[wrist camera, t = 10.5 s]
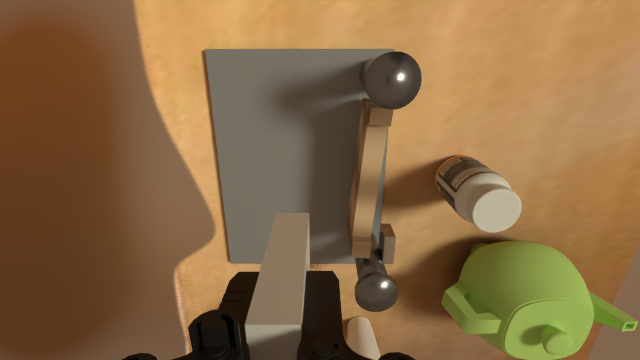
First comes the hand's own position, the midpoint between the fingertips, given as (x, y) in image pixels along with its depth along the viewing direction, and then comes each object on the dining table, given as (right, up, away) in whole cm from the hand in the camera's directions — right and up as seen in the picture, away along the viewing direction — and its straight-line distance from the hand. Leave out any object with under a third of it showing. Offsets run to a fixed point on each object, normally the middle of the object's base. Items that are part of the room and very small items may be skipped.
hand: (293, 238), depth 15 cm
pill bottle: (+18, +3, +25) cm, 31 cm away
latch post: (+7, -4, +28) cm, 29 cm away
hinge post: (+7, +14, +20) cm, 26 cm away
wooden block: (+6, +4, +23) cm, 24 cm away
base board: (-1, +4, +25) cm, 25 cm away
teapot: (+26, -10, +30) cm, 41 cm away
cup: (+7, -19, +34) cm, 39 cm away
